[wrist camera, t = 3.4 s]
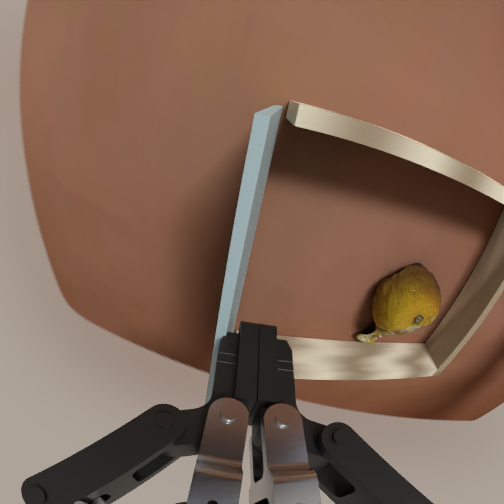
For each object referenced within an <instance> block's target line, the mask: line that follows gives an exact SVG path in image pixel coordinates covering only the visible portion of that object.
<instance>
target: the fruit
mask: <svg viewBox="0 0 504 504" xmlns="http://www.w3.org/2000/svg"><path fill="white" fill-rule="evenodd" d="M375 291H376V294H375V295H374V298H373V301H372V314H373V320H374V322H375V323H376V329H375V331H374V332H373V333H371V334H367V335H364V334H360V332H359V333H358V334H357V336H356V338H357V339H358V340H360V341H362V342H365V343H366V342H367V343H374V341H375V340H376V339H378V338H373V337H372V336H371V335H374V334H375V335H376V334H378V337H379V338H381V335H389V334H392V335H394V333H395V334H398V335H403V334H408V333H410V332H412V331H416V330H419V329H421V328H422V326H426V325H429V324H431V323H432V321H433V320H434V319H435V317H436V316H437V315H438V313H439V310H440V305H441V295H440V288H439V285H438V284H437V281H436V279H435V277H434V276H433V274H432V273H430V272H428V271H427V269H426V268H425V267H424V266H423V265H422V264H420V263H415V264H412V265H410V266H406V268H405V269H404V270H402V271H400V272H399V273H395V274H393V275H392V276H391V277H389V278H385V279H384V278H383V279H381V281H380V283H379V286H378V287H377V289H376V290H375Z"/></svg>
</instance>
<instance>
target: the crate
mask: <svg viewBox="0 0 504 504" xmlns="http://www.w3.org/2000/svg"><path fill="white" fill-rule="evenodd" d="M286 119H288V120H289V121H290V122H291V123H292V124H293V125H294V126H297V127H301V128H305V129H309V130H313V131H317V132H321V133H325V134H329V135H332V136H336V137H339V138H343V139H346V140H350V141H353V142H356V143H360V144H363V145H366V146H369V147H372V148H375V149H378V150H381V151H384V152H387V153H390V154H393V155H395V156H398V157H401V158H404V159H406V160H409V161H412V162H414V163H417V164H419V165H422V166H424V167H427V168H429V169H431V170H434V171H436V172H439V173H441V174H443V175H446V176H448V177H450V178H452V179H454V180H457V181H459V182H461V183H463V184H465V185H467V186H469V187H471V188H473V189H475V190H477V191H479V192H481V193H483V194H485V195H487V196H489V197H491V198H493V199H495V200H497V201H499V202H500V203H502V204H504V186H503V185H501V184H499V183H498V182H496V181H494V180H493V179H491V178H489V177H488V176H486V175H484V174H482V173H481V172H479V171H477V170H475V169H473V168H471V167H470V166H468V165H466V164H464V163H462V162H460V161H458V160H456V159H454V158H452V157H450V156H448V155H446V154H444V153H442V152H440V151H438V150H435V149H433V148H431V147H429V146H427V145H424V144H422V143H420V142H417V141H415V140H413V139H410V138H408V137H405V136H403V135H400V134H398V133H395V132H393V131H390V130H388V129H385V128H382V127H379V126H377V125H374V124H371V123H368V122H365V121H362V120H359V119H356V118H353V117H350V116H347V115H343V114H340V113H337V112H333V111H330V110H326V109H322V108H319V107H315V106H311V105H307V104H303V103H299V102H295V101H290V100H289V105H288V109H287V114H286ZM503 290H504V209H503V211H502V213H501V216H500V218H499V220H498V223H497V225H496V227H495V229H494V231H493V234H492V236H491V238H490V240H489V242H488V244H487V246H486V248H485V250H484V252H483V254H482V256H481V257H480V259H479V261H478V263H477V265H476V267H475V268H474V270H473V272H472V274H471V276H470V277H469V279H468V281H467V282H466V284H465V286H464V287H463V289H462V291H461V292H460V294H459V295H458V297H457V299H456V300H455V302H454V303H453V305H452V306H451V308H450V309H449V311H448V312H447V314H446V315H445V317H444V318H443V320H442V321H441V322H440V324H439V325H438V327H437V328H436V329H435V331H434V332H433V334H432V335H431V336H430V338H429V339H428V340H427V342H426V343H378V342H374V343H367V342H366V343H365V342H355V341H338V340H323V339H311V338H300V337H289V336H279V335H277V339H281V340H287V342H288V344H289V346H290V347H291V349H292V355H293V369H294V370H293V372H294V379H316V380H377V379H398V378H413V377H424V376H434V375H439V374H440V373H441V372H442V371H443V369H444V368H445V367H446V366H447V365H448V364H449V363H450V362H451V360H452V359H453V358H454V357H455V356H456V355H457V353H458V352H459V351H460V350H461V349H462V347H463V346H464V345H465V344H466V342H467V341H468V340H469V339H470V337H471V336H472V335H473V334H474V332H475V331H476V330H477V328H478V327H479V326H480V324H481V323H482V321H483V320H484V319H485V317H486V316H487V314H488V313H489V312H490V310H491V309H492V307H493V306H494V304H495V303H496V301H497V300H498V298H499V296H500V295H501V293H502V292H503ZM237 333H238V330H237Z"/></svg>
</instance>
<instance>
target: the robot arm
mask: <svg viewBox="0 0 504 504" xmlns="http://www.w3.org/2000/svg"><path fill="white" fill-rule="evenodd" d="M293 370H294V369H293V355H292V349H291V347H290V346H289V344H288V342H287V340H281V339H277V328H276V326H271V325H264V324H257V323H250V322H244V321H241V323H240V327H239V331H238V333H233V332H227V334H226V336H223V337H222V339H221V340H220V344H219V350H218V355H217V361H216V368H215V374H214V381H213V388H212V395H211V399H210V400H209V401H208V402H207V403H206V404H205V405H204V406H202V407H200V408H196V409H190V410H179V409H178V408H176V407H174V406H172V405H169V404H158V405H155V406H153V407H152V408H150V409H148V410H147V411H145V412H144V413H142V414H141V415H139V416H138V417H136V418H134V419H133V420H131V421H130V422H128V423H126V424H125V425H123V426H122V427H120V428H118V429H117V430H115V431H114V432H112V433H110V434H109V435H107V436H105V437H103V438H102V439H100V440H98V441H97V442H95V443H93V444H91V445H90V446H88V447H86V448H84V449H83V450H81V451H79V452H77V453H76V454H74V455H72V456H70V457H68V458H67V459H65V460H63V461H61V462H59V463H57V464H55V465H53V466H51V467H49V468H47V469H45V470H43V471H42V472H39V473H38V474H35V475H33V476H31V477H29V478H27V479H26V480H25V481H24V482H23V485H22V488H21V492H22V497H23V499H24V501H25V503H26V504H111V503H112V502H114V501H116V500H117V499H119V498H121V497H122V496H124V495H126V494H127V493H129V492H130V491H132V490H133V489H135V488H137V487H138V486H140V485H141V484H143V483H144V482H146V481H147V480H149V479H150V478H151V477H153V476H154V475H156V474H157V473H159V472H160V471H162V470H163V469H164V468H166V467H167V466H169V465H170V464H171V463H173V462H174V461H176V460H177V459H178V458H180V457H181V456H191V455H198V458H197V461H196V465H195V469H194V473H193V478H192V482H191V486H190V491H189V495H188V500H187V502H181V503H176V504H239V498H240V491H241V484H242V477H243V471H242V461H243V454H244V447H245V441H246V433H247V427H248V425H251V426H252V436H251V438H250V441H249V448H250V470H251V485H250V490H249V504H321V498H320V490H319V488H320V489H321V490H322V491H323V492H324V493H325V494H326V495H327V496H328V497H329V498H330V499H331V500H332V501H333V502H334V503H335V504H433V503H432V502H431V501H430V500H428V499H427V498H426V497H425V496H424V495H423V494H422V493H420V492H419V491H418V490H417V489H416V488H415V487H414V486H412V485H411V484H410V483H409V482H408V481H407V480H406V479H405V478H404V477H402V476H401V475H400V474H399V473H398V472H397V471H396V470H395V469H394V468H392V467H391V466H390V465H389V464H388V463H387V462H386V461H385V460H384V459H383V458H382V457H381V456H380V455H379V454H378V453H377V452H375V451H374V450H373V449H372V448H371V447H370V446H369V445H368V444H367V443H366V442H365V441H364V440H363V439H362V438H361V437H360V436H359V435H358V434H357V433H356V432H355V431H354V430H353V429H352V428H351V427H349V426H348V425H346V424H344V423H340V422H335V423H331V424H329V425H328V426H326V425H322V424H319V423H316V422H313V421H311V420H308V419H307V418H305V417H304V416H303V415H302V414H301V413H300V412H299V410H298V408H297V406H296V399H295V384H294V372H293Z"/></svg>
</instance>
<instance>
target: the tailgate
mask: <svg viewBox="0 0 504 504" xmlns="http://www.w3.org/2000/svg"><path fill="white" fill-rule="evenodd" d="M282 109H283V106H279V105H274V106H271V107H269V108H266V109H264V110H261V111H259V112H256V113H255V115H254V120H253V125H252V130H251V135H250V140H249V145H248V151H247V156H246V161H245V166H244V172H243V177H242V182H241V188H240V193H239V198H238V204H237V209H236V215H235V221H234V226H233V232H232V238H231V243H230V249H229V255H228V261H227V267H226V273H225V279H224V285H223V291H222V297H221V303H220V309H219V316H218V322H217V329H216V335H215V342H214V348H213V355H212V361H211V368H210V375H209V382H208V389H207V396H206V403H207V402H208V401H209V400H210V399H211V395H212V388H213V381H214V374H215V368H216V361H217V355H218V350H219V344H220V340H221V339H222V337H223V336H226V334H227V332H234V327H235V323H236V318H237V313H238V309H239V304H240V300H241V295H242V291H243V286H244V282H245V277H246V272H247V268H248V263H249V259H250V254H251V250H252V245H253V241H254V236H255V232H256V227H257V222H258V218H259V213H260V209H261V204H262V200H263V195H264V191H265V186H266V182H267V177H268V173H269V168H270V164H271V159H272V155H273V150H274V145H275V141H276V136H277V132H278V127H279V123H280V118H281V114H282ZM206 403H205V404H206Z"/></svg>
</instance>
